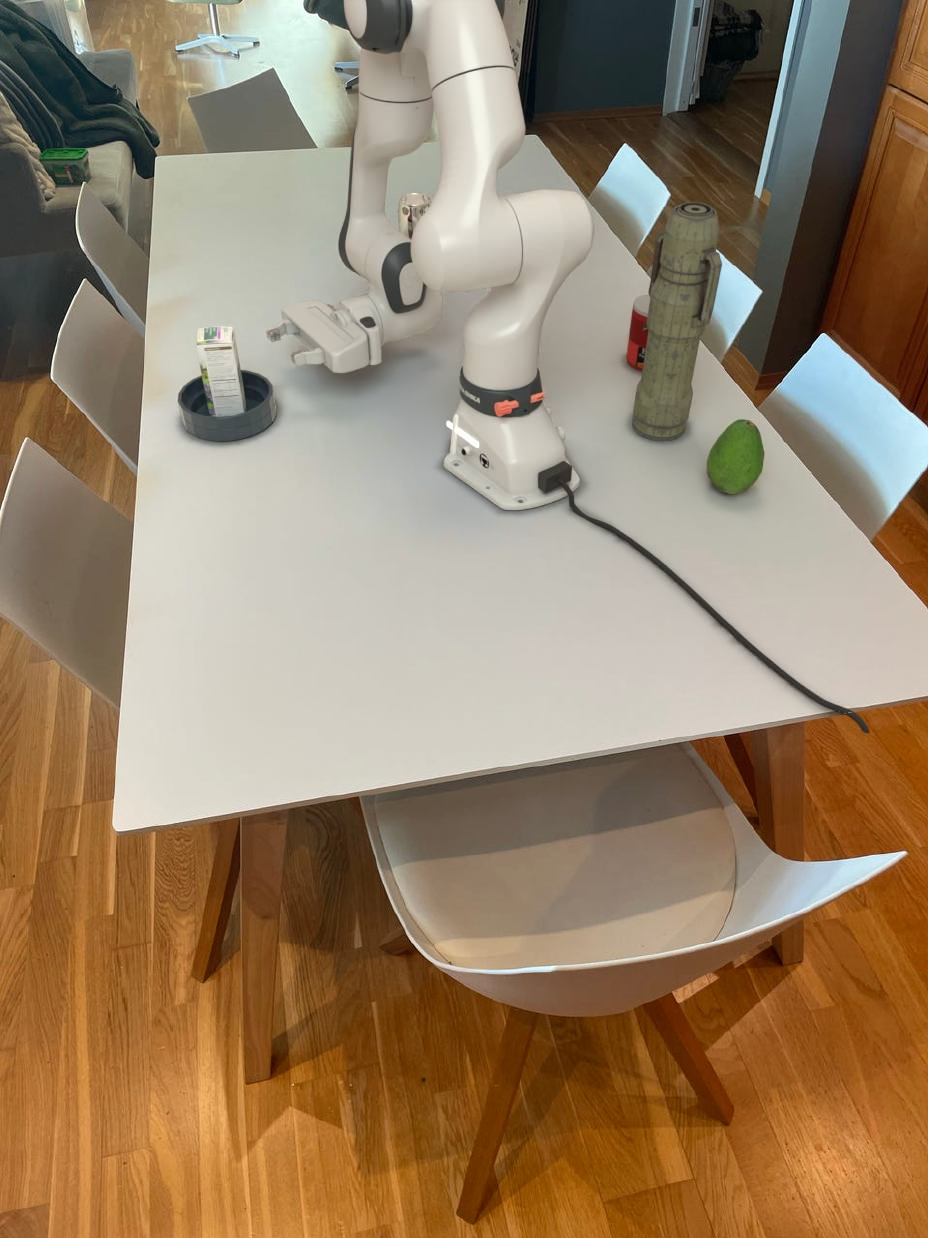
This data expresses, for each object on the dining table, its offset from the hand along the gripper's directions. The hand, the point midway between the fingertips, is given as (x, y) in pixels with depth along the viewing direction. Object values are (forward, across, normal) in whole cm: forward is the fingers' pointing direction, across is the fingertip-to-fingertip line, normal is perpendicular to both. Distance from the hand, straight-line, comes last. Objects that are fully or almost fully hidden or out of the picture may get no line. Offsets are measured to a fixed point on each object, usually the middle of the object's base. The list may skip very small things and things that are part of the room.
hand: (280, 347), depth 153 cm
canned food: (-60, +24, +10) cm, 65 cm away
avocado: (-44, +60, +9) cm, 75 cm away
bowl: (+11, 0, +9) cm, 14 cm away
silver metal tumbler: (-44, -30, +10) cm, 54 cm away
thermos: (-47, +41, +10) cm, 63 cm away
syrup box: (+11, 0, +9) cm, 14 cm away
